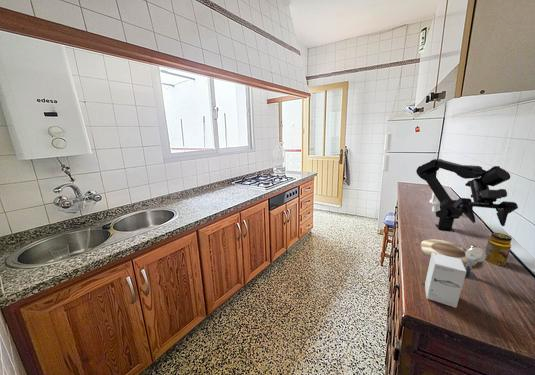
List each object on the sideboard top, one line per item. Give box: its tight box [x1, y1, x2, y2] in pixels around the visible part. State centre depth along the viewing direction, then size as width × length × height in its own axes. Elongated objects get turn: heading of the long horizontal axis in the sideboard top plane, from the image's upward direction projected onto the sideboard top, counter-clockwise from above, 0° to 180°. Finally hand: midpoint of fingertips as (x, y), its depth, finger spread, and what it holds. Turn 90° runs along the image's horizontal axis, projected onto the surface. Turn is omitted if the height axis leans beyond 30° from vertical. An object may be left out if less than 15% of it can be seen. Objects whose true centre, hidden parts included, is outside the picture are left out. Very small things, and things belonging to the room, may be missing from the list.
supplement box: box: [424, 253, 467, 309], centre depth 66 cm, size 7×7×13 cm
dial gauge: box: [462, 244, 486, 282], centre depth 76 cm, size 8×5×12 cm, turn 160°
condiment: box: [484, 232, 513, 267], centre depth 83 cm, size 7×8×12 cm
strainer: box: [429, 189, 447, 213], centre depth 135 cm, size 7×7×15 cm
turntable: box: [420, 238, 478, 267], centre depth 89 cm, size 18×18×2 cm
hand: (488, 224), depth 87 cm, fingers open, 9 cm apart
